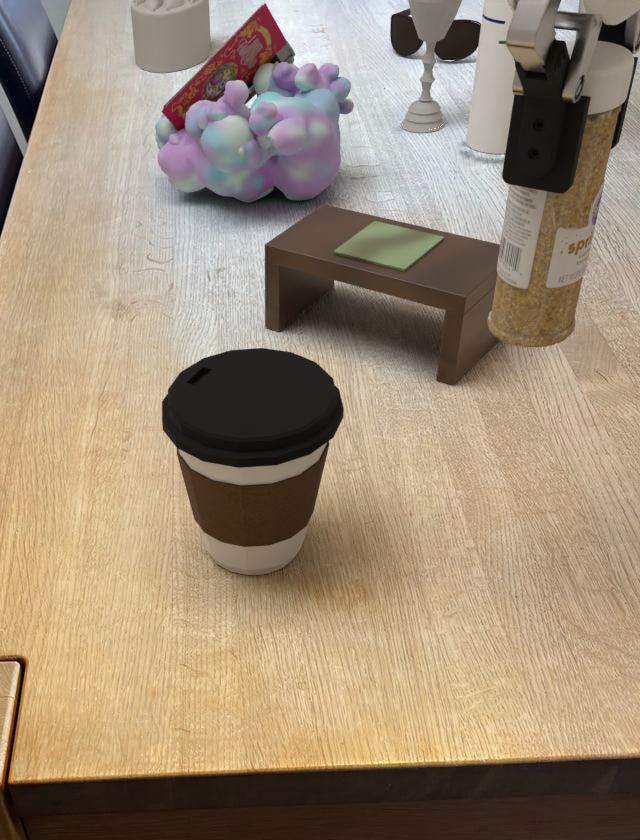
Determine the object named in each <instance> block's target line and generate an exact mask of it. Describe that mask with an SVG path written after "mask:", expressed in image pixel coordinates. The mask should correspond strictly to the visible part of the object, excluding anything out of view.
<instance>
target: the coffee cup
mask: <svg viewBox="0 0 640 840" xmlns="http://www.w3.org/2000/svg"><path fill="white" fill-rule="evenodd" d="M344 410H345V409H344V405H343V400H342V395H341V391H340V388H339V387H338V386H336V384H335V380H334V377H332V376H331V374H329V373H328V372H327V371H326V370H325V369H324V368H323V367H322V366H321V365H320V364H319V363H317V362H316V361H314V360H312V359H310V358H307V357H304V356H302V355H299V354H297V353H294V352H292V351H287V350H279V349H272V348H271V349H270V348H266V347H265V348H263V347H255V348H242V349H230V350H227V351H223V352H220V353H217V354H213V355H210V356H206V357H203V358H201V359H199V360H198V361H195V362H194V363H192V364H191V365H190V366H188V367H187V368H185V369H183V370H181V371H180V372H179V373H178V375H177V376H176V378H175V379H174V380H173V382H172V383H171V385H170V386H169V387H168V389H167V394H166V395H165V397H164V398H163V399H162V401H161V425H162V427H161V428H162V431H163V432H164V433H165V435H166V436H167V437H168V439H169V440H170V441H171V443H172V444H173V445H174V447H176V448H175V449H176V456H177V461H178V464H179V467H180V471H181V475H182V478H183V482H184V486H185V490H186V494H187V498H188V501H189V505H190V508H191V512H192V516H193V519H194V521H195V523H197V525H198V528H199V531H200V535H201V539H202V543H203V546H204V548H205V549H206V551H207V552H208V553H209V554H210V556H211V558H212V559H213V560H214V562H215V563H216V564H217V565H219V566H220V567H222V568H223V569H226V570H227V571H229V572H230V573H235V574H239V575H244V576H256V575H257V576H258V575H268V574H270V573H273V572H275V571H276V572H277V571H279V570H281V569H283V568H284V567H285V566H287V565H288V564H290V563H291V562H292V561H293V560H294V559H295V557H296V556H297V554H298V553H299V551H300V549H301V547H302V545H303V543H304V541H305V538H306V534H307V529H308V525H309V522H310V520H311V518H312V516H313V514H314V512H315V508H316V503H317V499H318V495H319V492H320V491H319V490H320V487H321V482H322V478H323V473H324V469H325V464H326V460H327V457H328V453H329V447H330V441H331V440H332V439H333V438H334V437H335V435H336V433H337V432H338V429H339V427H340V425H341V423H342V421H343V419H344Z"/></svg>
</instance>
